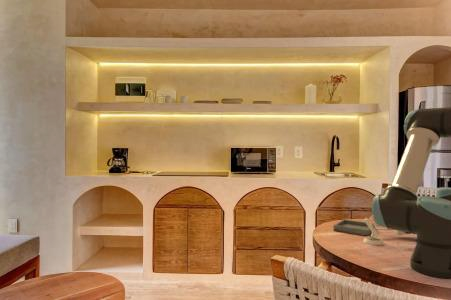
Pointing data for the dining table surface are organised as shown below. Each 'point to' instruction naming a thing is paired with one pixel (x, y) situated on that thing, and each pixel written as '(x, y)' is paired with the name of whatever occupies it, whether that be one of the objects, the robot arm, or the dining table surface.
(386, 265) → the dining table surface
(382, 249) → the dining table surface
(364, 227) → the tray
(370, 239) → the white vr controller
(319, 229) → the dining table surface
